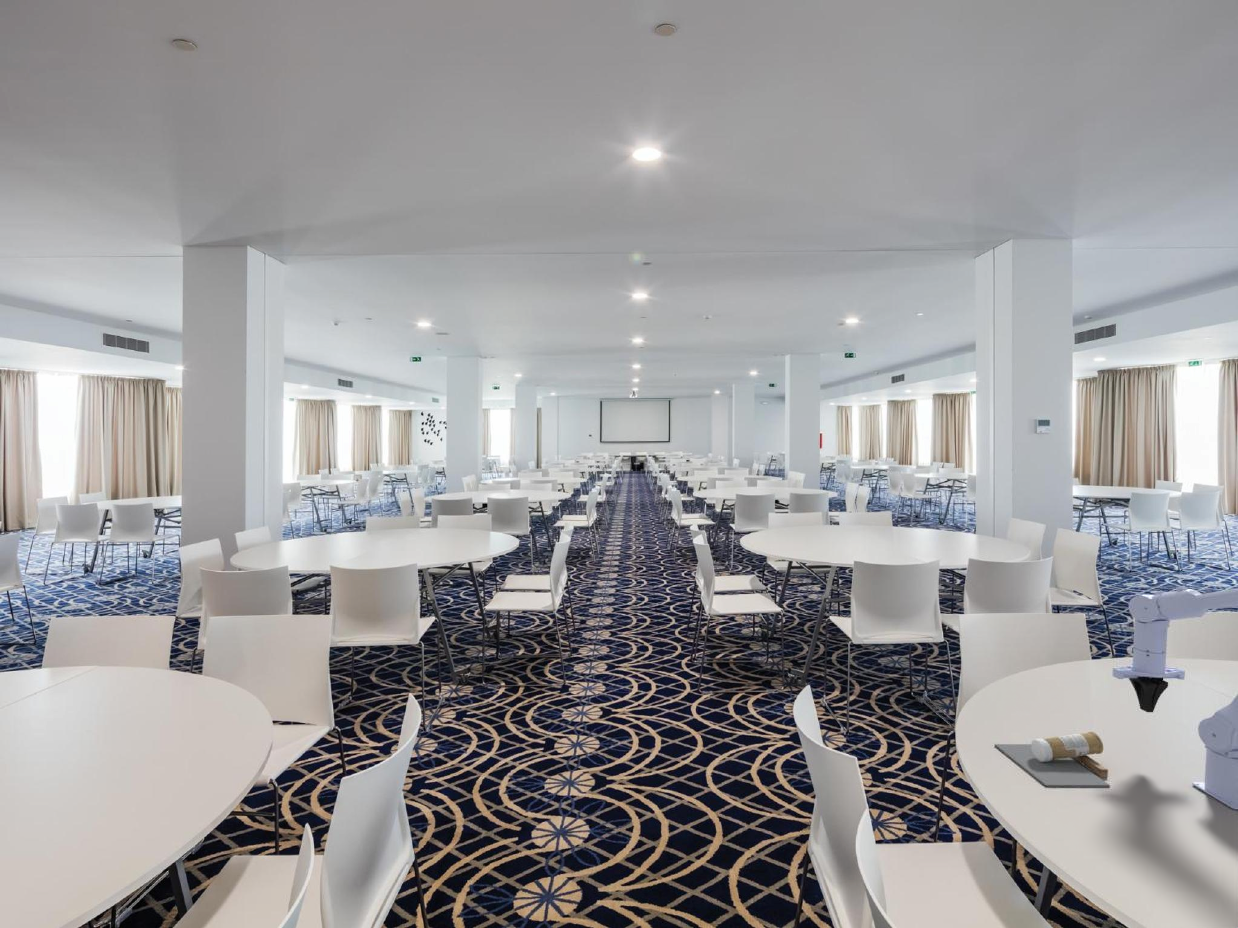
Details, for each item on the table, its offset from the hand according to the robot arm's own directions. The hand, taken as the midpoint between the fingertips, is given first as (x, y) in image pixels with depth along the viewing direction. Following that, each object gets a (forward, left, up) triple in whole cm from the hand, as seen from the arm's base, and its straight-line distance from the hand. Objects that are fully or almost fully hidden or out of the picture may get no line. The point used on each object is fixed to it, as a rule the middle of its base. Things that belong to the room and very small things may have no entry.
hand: (1146, 710), depth 150 cm
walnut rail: (-4, +16, -10) cm, 19 cm away
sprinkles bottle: (-2, +12, -6) cm, 14 cm away
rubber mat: (-4, +24, -10) cm, 26 cm away
